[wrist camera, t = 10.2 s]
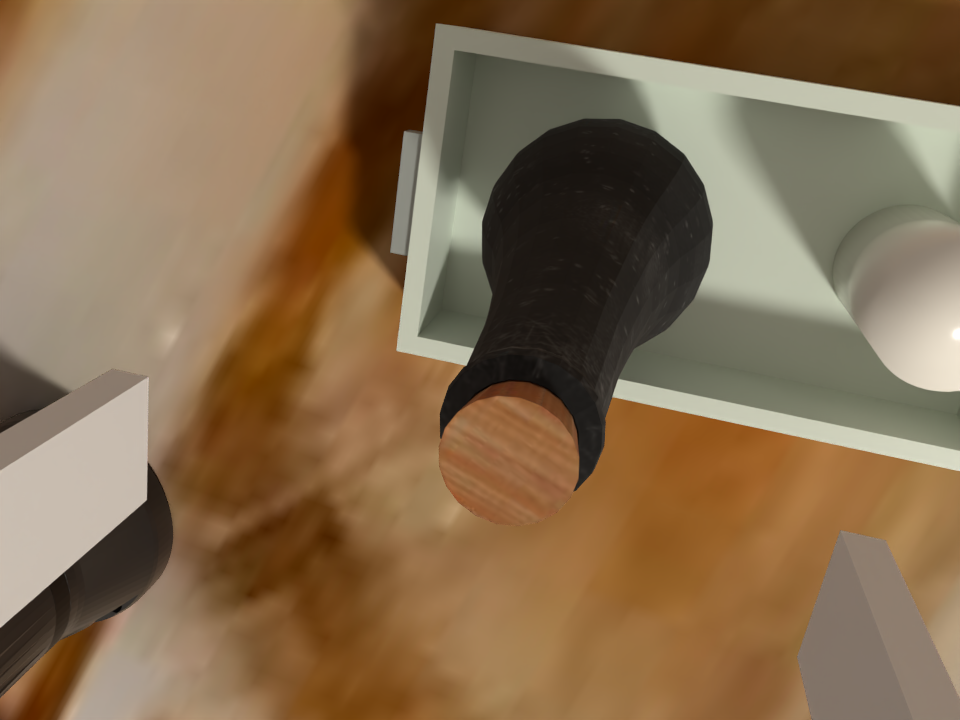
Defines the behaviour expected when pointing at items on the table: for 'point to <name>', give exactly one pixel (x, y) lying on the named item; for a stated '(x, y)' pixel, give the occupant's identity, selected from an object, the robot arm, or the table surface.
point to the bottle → (568, 309)
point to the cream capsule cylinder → (905, 291)
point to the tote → (735, 237)
